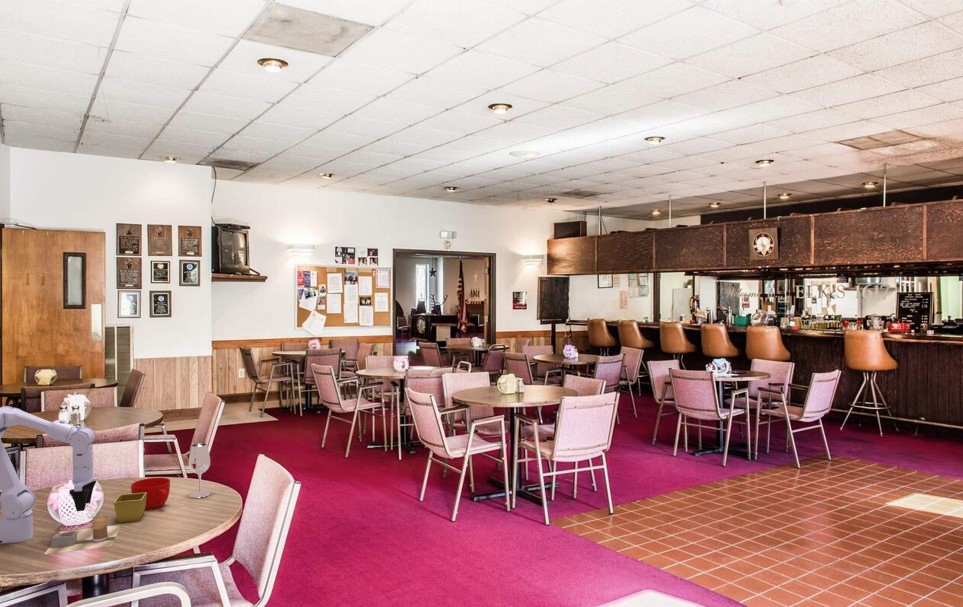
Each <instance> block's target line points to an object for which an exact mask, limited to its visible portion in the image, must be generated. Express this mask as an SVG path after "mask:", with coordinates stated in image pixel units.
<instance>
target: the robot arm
mask: <svg viewBox="0 0 963 607" xmlns="http://www.w3.org/2000/svg"><path fill="white" fill-rule="evenodd" d="M15 426H23V427H27V428H31V429H35V430H37V431H41V432H44V433H46V435H47V437H48V438H51V439H54V440H57V441H60V442H64V443H65V444H69V445H70V446H71V448H72V480H71V483H72V485H73V489H70V490H69V492H68V493H69V495H70V496H71V498H72V499H73V503H74V506H75V510H76V512H84V511H85V510H86V505H87V504H90V503H91V500H92V496H93V491H94V488H95V486H96V483H97V480H98V477H97V476H96V477H95V476H94V451H93V448H94V447H93V442H94V440H95V439H96V432H95V431H94V429H91V428H90V427H89V426H83V427H81V426H80V425H73V424H70V423H67V422H66V420H65V419H60V420H58V419H56V420H54V421H49V420H47V419H44V418H41V417H39V416H37V415H34V414H32V413H30V412H29V413H28V412H26V411H24V410H21V409H20V408H18V407H12V406H9V405H4V406H0V491H1V492H0V506H1V508H0V512H1V514H2V515H3V516H0V545H1V544H9V543H11V544H13V543H21V542H25V541H28V540H30V539H32V538H33V537H34V526H33V525H34V522H33V521H34V520H33V519H34V517H33V509H32V508H33V507H34V505H35V504H36V496H35V494H34V493H33V492H32V491H30V490H29V488H28V486H27V485H26V484H24V483H22V482H21V480H20V478H19V475H18V474H17V472H16V469H15V467H14V465H13V463H12V461H11V459H10V456H9V455H8V452H7V450H6V448H5V445H4V443H3V441H2V437H3V435H4V433H5V432H6V430H7V429H8V428H10V427H15Z"/></svg>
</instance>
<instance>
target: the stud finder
mask: <svg viewBox="0 0 963 607" xmlns="http://www.w3.org/2000/svg"><path fill="white" fill-rule="evenodd" d="M76 542H77V531H76V532H68V533H60V532H59V533H55V534H53V536H52V537H51V544H52V548H56V547H65V546H73V545H75V543H76Z"/></svg>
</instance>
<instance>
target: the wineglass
mask: <svg viewBox="0 0 963 607" xmlns="http://www.w3.org/2000/svg"><path fill="white" fill-rule="evenodd" d="M210 466H211V456H210V451H209V447H208V444H207V443H206V442H205V443H203V442H200V443H193V444H192V445H191V446H190V451H189V458H188V468H189V469H190V471H191V472H192V473H194V474H197V476H198V491H197V492H192V493H191V494H189V498H191V497H193V498H192V499H201V497H203V498H206V496H207V497H209V496H210V495H211V492H210V491H202V474H203V473H205V472H207V471H208V470H209V468H210Z"/></svg>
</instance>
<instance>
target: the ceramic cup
mask: <svg viewBox="0 0 963 607" xmlns="http://www.w3.org/2000/svg"><path fill="white" fill-rule="evenodd" d="M170 487H171V479H170V478H167V477H151V478H150V477H148V478H144V479H140V480H136V481H134V482H132V483H131V484H130V492H131V493H130V494H135V493H145V492H146V493H147V495H146V506H145V510H154V509H157V508H160V507H163V506H164V505H165V503H166V502H167V501H168V498H169V495H170V489H171V488H170Z"/></svg>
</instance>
